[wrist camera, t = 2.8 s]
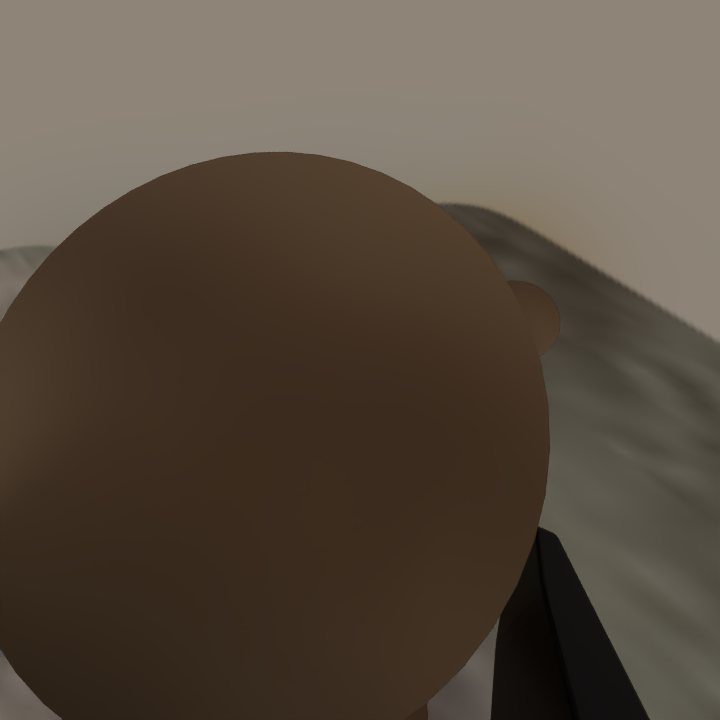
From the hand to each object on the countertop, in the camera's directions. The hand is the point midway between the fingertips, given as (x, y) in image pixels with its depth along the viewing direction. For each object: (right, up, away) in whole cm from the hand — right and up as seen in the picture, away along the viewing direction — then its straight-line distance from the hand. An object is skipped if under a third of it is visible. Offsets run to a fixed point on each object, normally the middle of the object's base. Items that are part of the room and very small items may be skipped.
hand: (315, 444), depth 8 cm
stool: (+1, -2, +8) cm, 8 cm away
